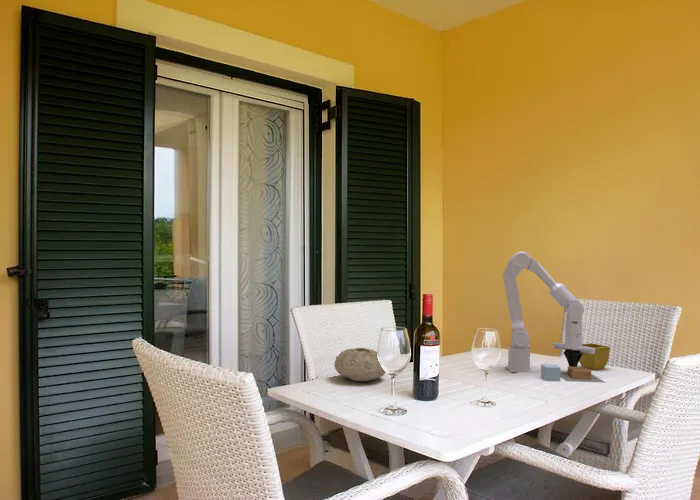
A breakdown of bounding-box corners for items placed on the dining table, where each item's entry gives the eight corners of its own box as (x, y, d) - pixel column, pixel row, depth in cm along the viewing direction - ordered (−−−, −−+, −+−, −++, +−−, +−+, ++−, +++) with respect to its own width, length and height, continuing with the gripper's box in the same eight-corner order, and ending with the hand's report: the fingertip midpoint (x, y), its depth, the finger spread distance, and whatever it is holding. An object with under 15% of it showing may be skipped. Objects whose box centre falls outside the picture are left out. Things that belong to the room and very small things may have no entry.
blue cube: (540, 378, 185) (541, 364, 185) (555, 379, 185) (555, 364, 185) (545, 382, 180) (545, 367, 180) (560, 382, 180) (560, 367, 180)
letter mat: (554, 373, 193) (554, 372, 193) (591, 374, 192) (591, 373, 192) (566, 382, 180) (566, 381, 180) (605, 383, 179) (605, 382, 179)
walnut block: (567, 375, 189) (567, 366, 189) (584, 375, 189) (584, 367, 189) (573, 379, 183) (573, 370, 183) (591, 379, 183) (591, 370, 183)
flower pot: (574, 367, 204) (575, 344, 204) (591, 365, 208) (591, 342, 208) (594, 372, 196) (594, 348, 196) (610, 370, 200) (610, 346, 200)
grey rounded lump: (397, 381, 178) (398, 351, 178) (356, 389, 167) (357, 356, 167) (363, 371, 192) (364, 343, 192) (323, 377, 181) (323, 348, 181)
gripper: (549, 332, 195) (548, 369, 195) (589, 337, 184) (588, 376, 184) (557, 330, 200) (557, 366, 199) (597, 335, 189) (597, 373, 189)
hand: (573, 371), depth 192 cm, fingers closed
